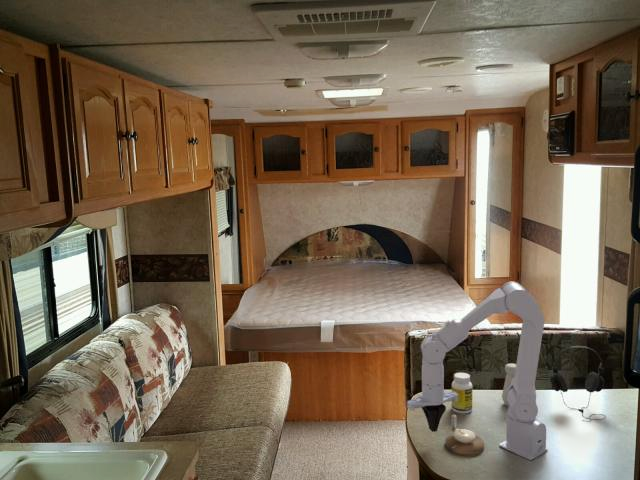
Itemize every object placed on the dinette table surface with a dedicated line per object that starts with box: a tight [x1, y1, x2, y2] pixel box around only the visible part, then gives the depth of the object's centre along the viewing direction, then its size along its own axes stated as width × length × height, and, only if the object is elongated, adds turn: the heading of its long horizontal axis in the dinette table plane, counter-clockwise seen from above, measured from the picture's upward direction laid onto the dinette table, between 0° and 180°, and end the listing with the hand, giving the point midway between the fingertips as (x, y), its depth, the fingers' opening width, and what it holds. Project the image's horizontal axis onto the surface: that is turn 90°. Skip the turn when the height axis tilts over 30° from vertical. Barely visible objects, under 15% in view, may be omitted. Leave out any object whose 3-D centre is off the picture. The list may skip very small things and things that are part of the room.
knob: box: [451, 414, 476, 443], centre depth 146 cm, size 8×6×4 cm
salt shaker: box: [501, 362, 516, 408], centre depth 168 cm, size 6×6×13 cm
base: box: [445, 432, 485, 457], centre depth 146 cm, size 10×10×2 cm
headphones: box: [549, 345, 606, 422], centre depth 161 cm, size 15×11×20 cm
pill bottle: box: [451, 372, 473, 415], centre depth 166 cm, size 6×6×11 cm
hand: (433, 429), depth 147 cm, fingers closed
